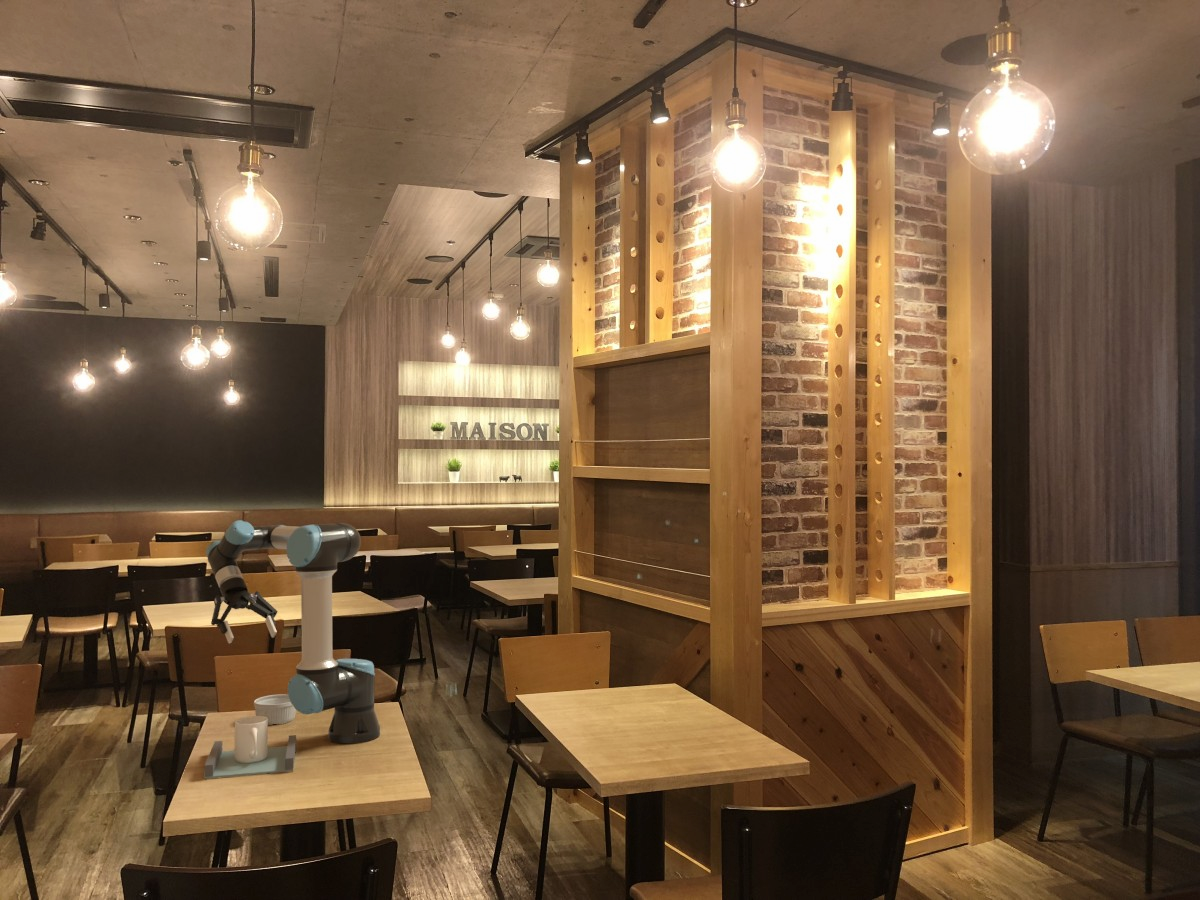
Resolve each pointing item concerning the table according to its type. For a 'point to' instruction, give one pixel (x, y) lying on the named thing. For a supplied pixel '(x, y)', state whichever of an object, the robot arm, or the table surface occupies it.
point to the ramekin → (275, 708)
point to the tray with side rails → (228, 766)
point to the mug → (251, 739)
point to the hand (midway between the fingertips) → (253, 637)
